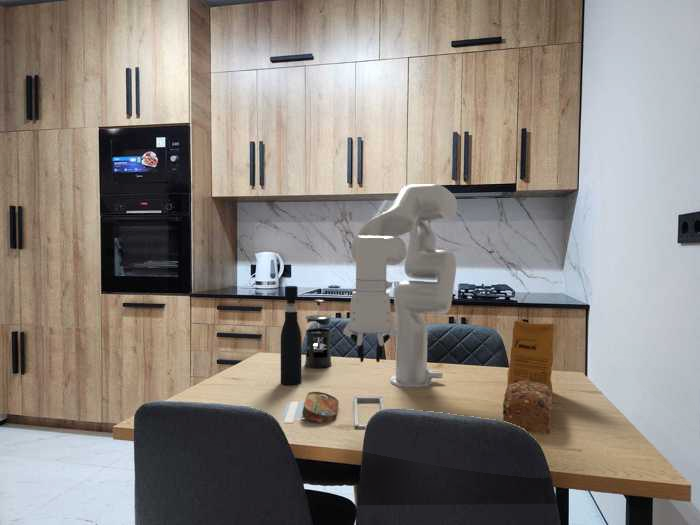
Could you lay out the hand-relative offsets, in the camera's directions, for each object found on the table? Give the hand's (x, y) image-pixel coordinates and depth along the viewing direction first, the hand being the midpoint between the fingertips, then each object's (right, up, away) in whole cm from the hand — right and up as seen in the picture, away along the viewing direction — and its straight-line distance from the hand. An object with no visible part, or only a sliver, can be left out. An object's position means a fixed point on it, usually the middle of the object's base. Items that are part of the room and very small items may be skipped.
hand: (369, 359), depth 117 cm
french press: (-16, -12, +51) cm, 55 cm away
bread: (+38, -16, -2) cm, 41 cm away
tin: (-8, -14, +2) cm, 16 cm away
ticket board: (-18, -15, +2) cm, 23 cm away
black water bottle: (-23, -13, +29) cm, 39 cm away
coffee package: (+46, -15, +18) cm, 51 cm away
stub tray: (0, -15, +1) cm, 15 cm away
